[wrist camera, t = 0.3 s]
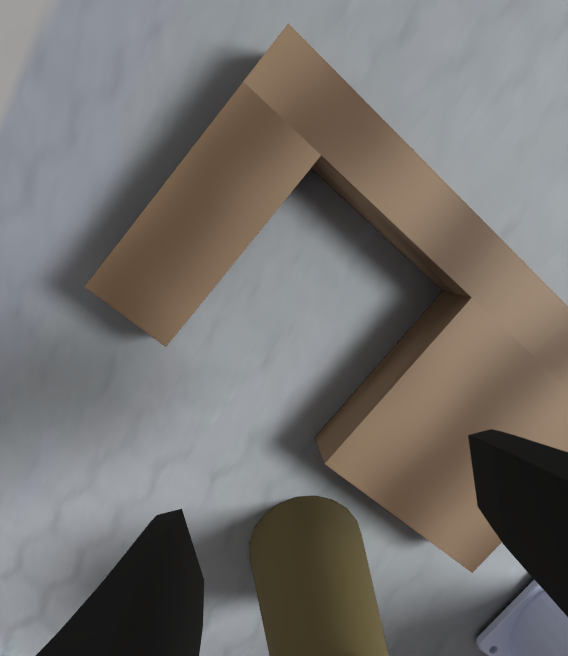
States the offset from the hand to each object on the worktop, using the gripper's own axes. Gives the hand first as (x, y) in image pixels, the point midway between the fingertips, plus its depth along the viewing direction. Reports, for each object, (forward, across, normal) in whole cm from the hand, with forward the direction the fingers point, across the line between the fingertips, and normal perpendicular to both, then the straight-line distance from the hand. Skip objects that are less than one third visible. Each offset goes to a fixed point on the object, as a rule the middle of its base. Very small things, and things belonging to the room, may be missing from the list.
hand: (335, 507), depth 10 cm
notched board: (+10, -5, -1) cm, 11 cm away
